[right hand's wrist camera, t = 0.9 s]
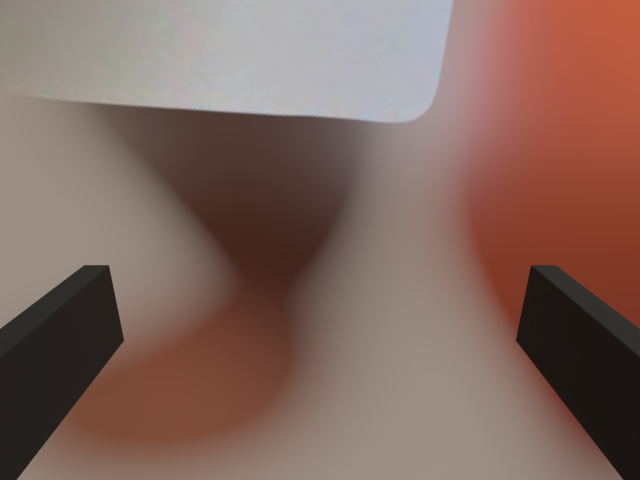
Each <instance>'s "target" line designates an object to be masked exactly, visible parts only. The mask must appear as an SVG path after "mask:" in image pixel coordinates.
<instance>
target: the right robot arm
mask: <svg viewBox="0 0 640 480" xmlns="http://www.w3.org/2000/svg"><path fill="white" fill-rule="evenodd" d="M123 341H124V338H123V333H122V328H121V323H120V318H119V313H118V308H117V303H116V298H115V293H114V288H113V283H112V278H111V273H110V269H109V266H108V265H84V266H83V267H81V268H80V269H79V270H78V271H76V272H75V273H74V274H72V275H71V276H70V277H68V278H67V279H66V280H64V281H63V282H62V283H60V284H59V285H58V286H56V287H55V288H54V289H52V290H51V291H50V292H48V293H47V294H46V295H45V296H43V297H42V298H40V299H39V300H38V301H37V302H35V303H34V304H33V305H31V306H30V307H29V308H27V309H26V310H25V311H23V312H22V313H21V314H19V315H18V316H17V317H15V318H14V319H13V320H11V321H10V322H9V323H7V324H6V325H5V326H4V327H2V328H1V329H0V480H17V478H18V477H19V476H20V475H21V473H22V472H23V471H24V469H25V468H26V467H27V466H28V464H29V463H30V462H31V460H32V459H33V458H34V456H35V455H36V454H37V453H38V451H39V450H40V449H41V447H42V446H43V445H44V444H45V442H46V441H47V440H48V438H49V437H50V436H51V434H52V433H53V432H54V431H55V429H56V428H57V427H58V425H59V424H60V423H61V421H62V420H63V419H64V418H65V416H66V415H67V414H68V412H69V411H70V410H71V409H72V407H73V406H74V405H75V403H76V402H77V401H78V399H79V398H80V397H81V396H82V394H83V393H84V392H85V390H86V389H87V388H88V387H89V385H90V384H91V383H92V381H93V380H94V379H95V377H96V376H97V375H98V374H99V372H100V371H101V370H102V368H103V367H104V366H105V365H106V363H107V362H108V361H109V359H110V358H111V357H112V355H113V354H114V353H115V352H116V350H117V349H118V348H119V346H120V345H121V344H122V343H123ZM516 341H517V343H518V344H519V345H520V346H521V348H522V349H523V350H524V351H525V353H526V354H527V356H528V357H529V358H530V359H531V361H532V362H533V363H534V364H535V366H536V367H537V368H538V370H539V371H540V372H541V374H542V375H543V376H544V378H545V379H546V380H547V381H548V383H549V384H550V385H551V387H552V388H553V389H554V390H555V392H556V393H557V394H558V396H559V397H560V398H561V400H562V401H563V402H564V403H565V405H566V406H567V407H568V409H569V410H570V411H571V412H572V414H573V415H574V416H575V418H576V419H577V420H578V422H579V423H580V424H581V425H582V427H583V428H584V429H585V431H586V432H587V433H588V434H589V436H590V437H591V438H592V440H593V441H594V442H595V444H596V445H597V446H598V447H599V449H600V450H601V451H602V453H603V454H604V455H605V456H606V458H607V459H608V460H609V462H610V463H611V464H612V466H613V467H614V468H615V469H616V471H617V472H618V473H619V475H620V476H621V477H622V478H623V480H640V329H639V328H638V327H637V326H635V325H634V324H633V323H631V322H630V321H629V320H627V319H626V318H625V317H623V316H622V315H621V314H619V313H618V312H617V311H615V310H614V309H613V308H611V307H610V306H609V305H607V304H606V303H605V302H603V301H602V300H601V299H600V298H598V297H597V296H596V295H594V294H593V293H592V292H590V291H589V290H588V289H586V288H585V287H584V286H582V285H581V284H580V283H578V282H577V281H576V280H574V279H573V278H572V277H570V276H569V275H568V274H566V273H565V272H564V271H562V270H561V269H560V268H559V267H557V266H556V265H531V269H530V274H529V279H528V283H527V288H526V294H525V298H524V303H523V308H522V313H521V318H520V323H519V328H518V333H517V338H516Z"/></svg>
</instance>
